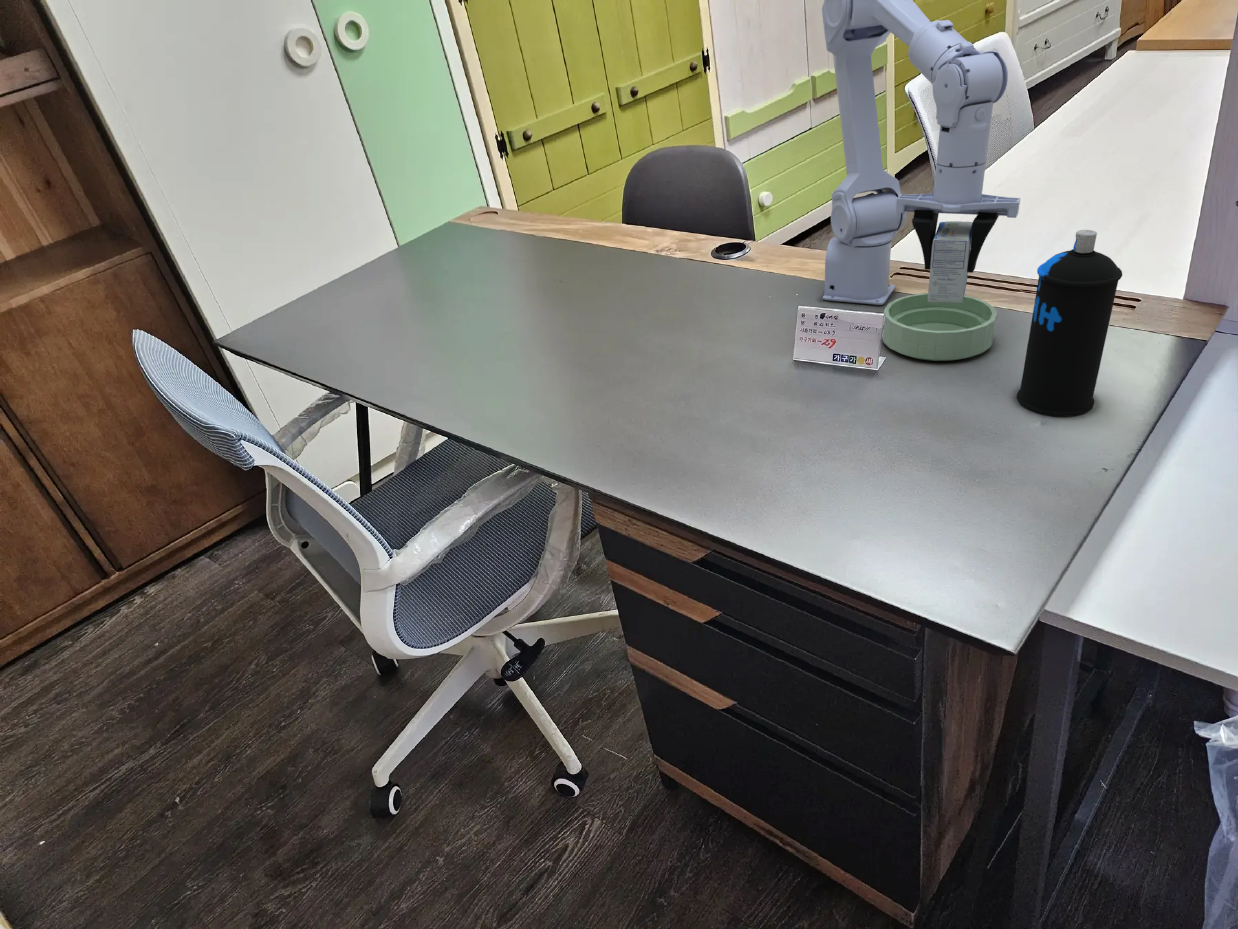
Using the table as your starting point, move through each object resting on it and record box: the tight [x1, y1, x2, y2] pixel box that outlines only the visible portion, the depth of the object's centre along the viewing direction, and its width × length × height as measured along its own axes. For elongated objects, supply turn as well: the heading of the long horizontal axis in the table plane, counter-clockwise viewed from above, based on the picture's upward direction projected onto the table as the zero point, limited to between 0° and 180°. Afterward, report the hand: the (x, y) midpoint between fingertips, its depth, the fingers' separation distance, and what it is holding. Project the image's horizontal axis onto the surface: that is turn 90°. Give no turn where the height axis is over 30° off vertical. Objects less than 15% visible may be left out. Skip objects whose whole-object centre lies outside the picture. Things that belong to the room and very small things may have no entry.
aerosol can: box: [1016, 229, 1123, 417], centre depth 94 cm, size 8×8×20 cm
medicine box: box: [927, 220, 973, 304], centre depth 111 cm, size 8×4×9 cm, turn 157°
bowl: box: [882, 292, 998, 362], centre depth 115 cm, size 14×14×4 cm
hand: (949, 268), depth 111 cm, fingers closed on medicine box, 5 cm apart
